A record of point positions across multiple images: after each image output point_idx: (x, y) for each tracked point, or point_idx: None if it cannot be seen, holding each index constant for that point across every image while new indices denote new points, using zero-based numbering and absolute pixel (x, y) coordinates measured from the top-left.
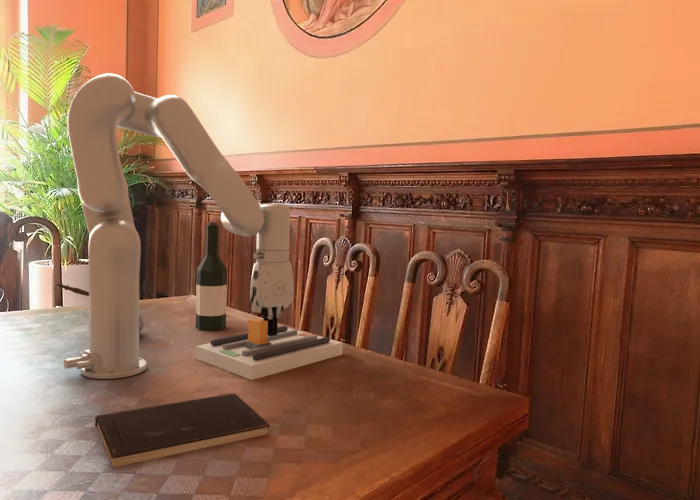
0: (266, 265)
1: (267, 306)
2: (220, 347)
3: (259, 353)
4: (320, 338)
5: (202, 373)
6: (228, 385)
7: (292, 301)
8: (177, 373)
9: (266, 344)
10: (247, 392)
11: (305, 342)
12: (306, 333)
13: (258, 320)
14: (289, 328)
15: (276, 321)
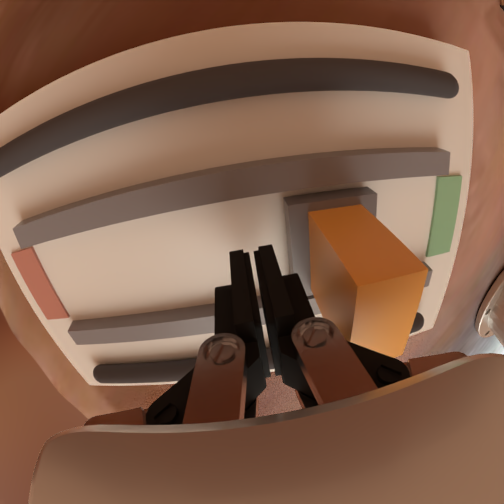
0: None
1: (474, 360)
2: None
3: (443, 78)
4: (14, 153)
5: (477, 194)
6: (484, 74)
7: (50, 439)
8: (494, 226)
9: (318, 199)
10: (471, 7)
11: (111, 104)
12: (40, 308)
13: (384, 326)
14: (83, 377)
15: (245, 306)
